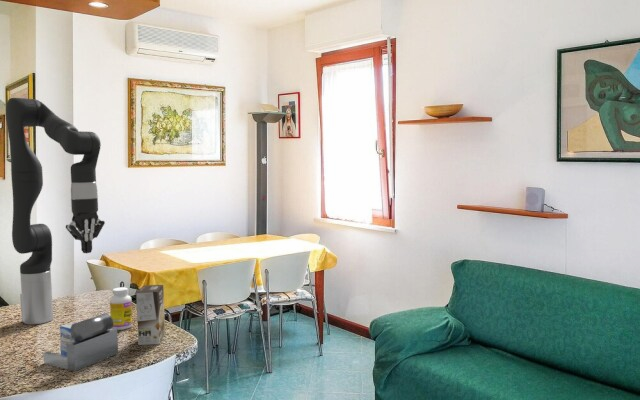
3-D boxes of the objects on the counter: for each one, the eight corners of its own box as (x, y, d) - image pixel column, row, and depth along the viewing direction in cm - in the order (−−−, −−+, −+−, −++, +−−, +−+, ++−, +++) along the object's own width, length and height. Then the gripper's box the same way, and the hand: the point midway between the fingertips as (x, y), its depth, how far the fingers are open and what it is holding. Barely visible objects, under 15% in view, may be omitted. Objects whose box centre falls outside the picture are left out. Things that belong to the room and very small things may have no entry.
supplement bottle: (125, 331, 179) (123, 291, 178) (106, 330, 180) (105, 291, 179) (136, 324, 185) (134, 286, 184) (118, 323, 186) (116, 286, 185)
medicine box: (60, 355, 158) (58, 326, 157) (74, 351, 161) (73, 321, 161) (77, 361, 153) (75, 330, 153) (91, 356, 157) (90, 326, 156)
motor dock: (44, 363, 152) (41, 320, 151) (87, 346, 165) (85, 307, 163) (78, 371, 146) (75, 327, 145) (120, 353, 158) (118, 312, 157)
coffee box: (159, 344, 166) (157, 291, 164) (137, 345, 165) (135, 292, 164) (165, 334, 175) (163, 284, 173) (144, 335, 174) (142, 284, 173)
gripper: (94, 195, 178) (96, 248, 180) (57, 198, 167) (60, 255, 168) (110, 195, 174) (112, 250, 176) (73, 199, 163) (76, 257, 165)
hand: (86, 252), depth 172 cm, fingers closed
